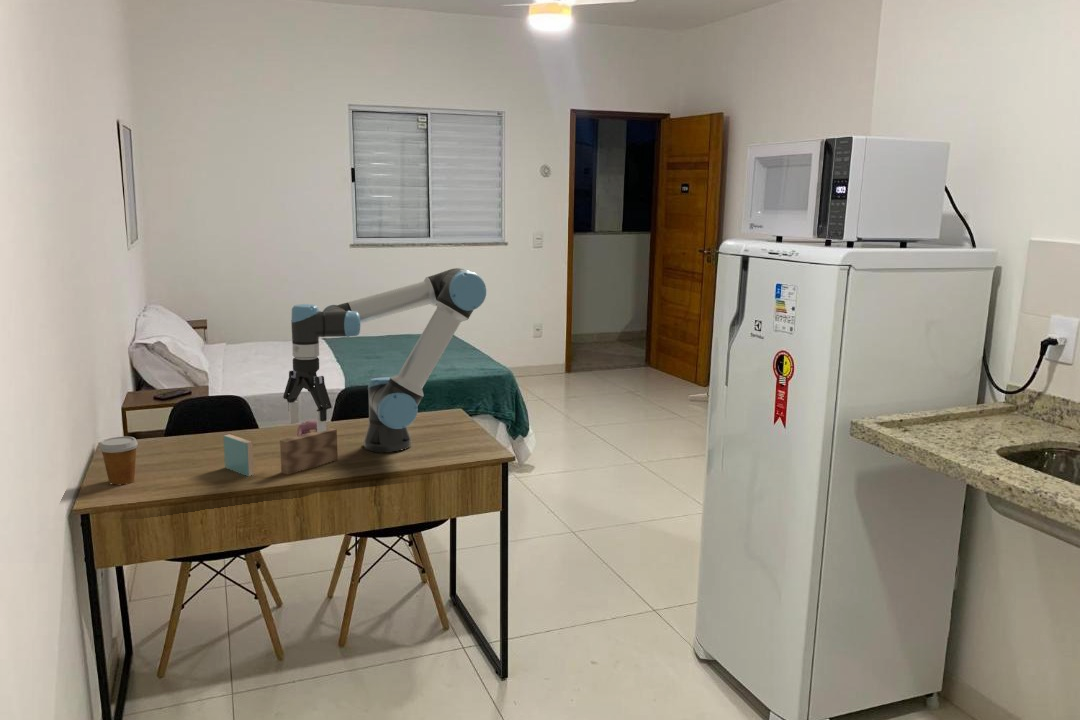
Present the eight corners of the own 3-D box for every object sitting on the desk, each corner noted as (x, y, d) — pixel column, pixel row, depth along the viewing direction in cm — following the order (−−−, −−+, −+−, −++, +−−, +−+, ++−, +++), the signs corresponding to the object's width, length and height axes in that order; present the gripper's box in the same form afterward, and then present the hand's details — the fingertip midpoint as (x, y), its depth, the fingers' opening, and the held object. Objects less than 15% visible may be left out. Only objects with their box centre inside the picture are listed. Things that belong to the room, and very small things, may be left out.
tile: (231, 466, 239) (229, 434, 237) (254, 474, 231) (252, 441, 229) (225, 467, 237) (223, 435, 235) (247, 476, 230) (246, 443, 228)
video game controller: (328, 441, 271) (328, 421, 273) (326, 439, 266) (326, 418, 268) (298, 442, 269) (298, 422, 271) (296, 440, 265) (296, 419, 267)
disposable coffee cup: (132, 487, 219) (128, 445, 217) (96, 487, 219) (92, 445, 216) (146, 476, 229) (143, 435, 226) (112, 476, 228) (108, 436, 226)
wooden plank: (331, 458, 248) (330, 427, 246) (337, 460, 246) (336, 429, 244) (281, 472, 234) (279, 440, 232) (287, 475, 232) (286, 442, 230)
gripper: (270, 353, 238) (272, 421, 242) (321, 364, 223) (323, 437, 227) (291, 350, 244) (293, 417, 248) (343, 361, 229) (344, 432, 233)
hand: (307, 427), depth 237 cm, fingers open, 13 cm apart
